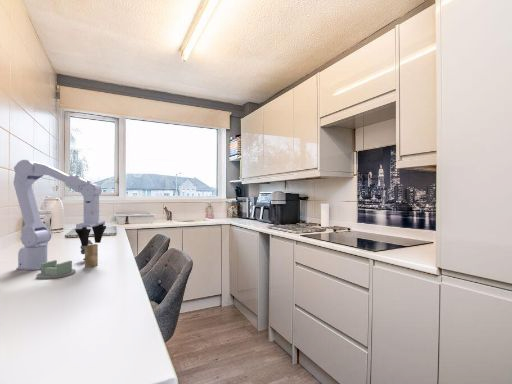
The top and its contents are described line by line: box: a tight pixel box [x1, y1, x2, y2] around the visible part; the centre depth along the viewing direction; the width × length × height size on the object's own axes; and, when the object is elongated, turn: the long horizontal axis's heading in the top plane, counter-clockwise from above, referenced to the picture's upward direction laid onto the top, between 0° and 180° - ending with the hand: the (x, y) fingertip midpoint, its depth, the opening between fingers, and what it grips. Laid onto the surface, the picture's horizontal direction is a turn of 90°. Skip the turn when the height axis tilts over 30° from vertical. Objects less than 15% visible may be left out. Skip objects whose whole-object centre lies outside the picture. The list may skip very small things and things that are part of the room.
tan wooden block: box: [84, 243, 99, 268], centre depth 118 cm, size 4×2×9 cm, turn 82°
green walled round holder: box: [36, 259, 76, 280], centre depth 106 cm, size 12×12×5 cm
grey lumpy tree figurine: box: [79, 239, 93, 261], centre depth 128 cm, size 5×5×10 cm
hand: (91, 244), depth 118 cm, fingers open, 7 cm apart
